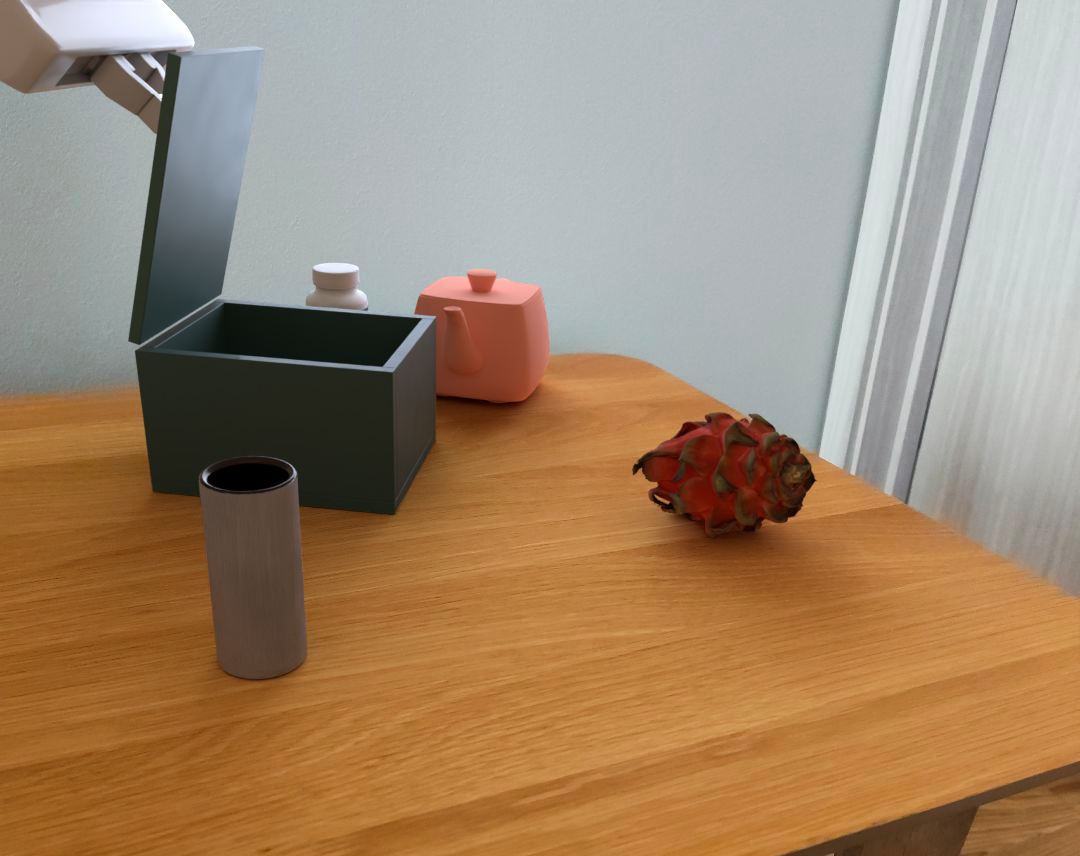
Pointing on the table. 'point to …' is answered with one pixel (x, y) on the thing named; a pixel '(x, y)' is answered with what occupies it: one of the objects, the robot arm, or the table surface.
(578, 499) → the table surface
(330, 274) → the pill bottle
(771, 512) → the dragon fruit
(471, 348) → the teapot
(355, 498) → the box
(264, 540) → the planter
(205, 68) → the lid
